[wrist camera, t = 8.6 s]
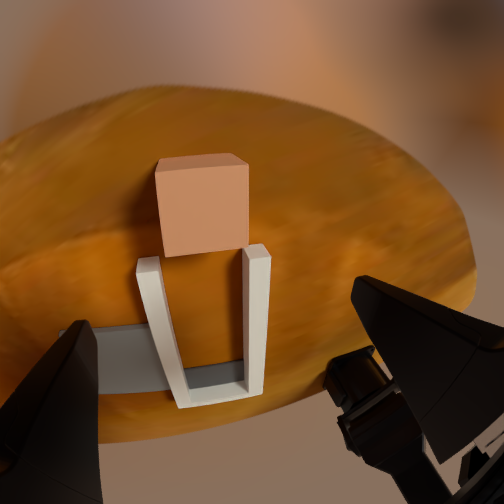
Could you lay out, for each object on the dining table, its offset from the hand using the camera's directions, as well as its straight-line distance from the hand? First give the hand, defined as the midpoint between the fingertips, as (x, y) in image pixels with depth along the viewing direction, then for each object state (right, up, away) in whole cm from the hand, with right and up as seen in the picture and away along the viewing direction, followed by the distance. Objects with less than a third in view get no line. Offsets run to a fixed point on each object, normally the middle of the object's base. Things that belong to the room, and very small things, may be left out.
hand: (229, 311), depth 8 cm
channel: (-3, -5, +15) cm, 16 cm away
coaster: (-12, -8, +14) cm, 20 cm away
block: (-3, +6, +9) cm, 11 cm away
